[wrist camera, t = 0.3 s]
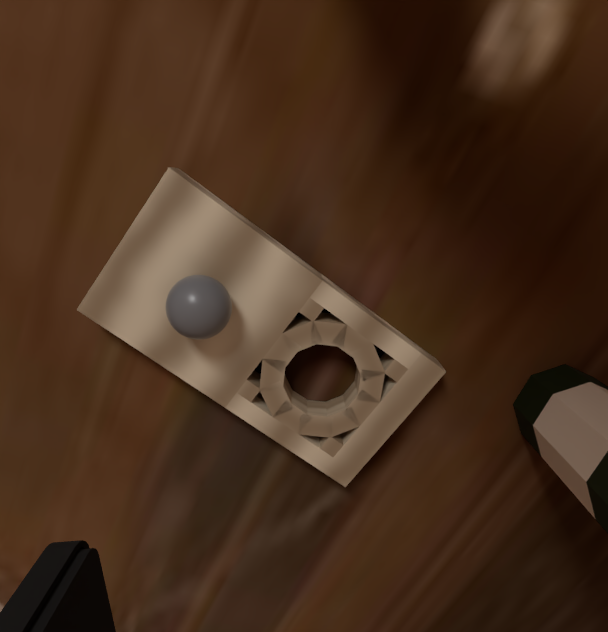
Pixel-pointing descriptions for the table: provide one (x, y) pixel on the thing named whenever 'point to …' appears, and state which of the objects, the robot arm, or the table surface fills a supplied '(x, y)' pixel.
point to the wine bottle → (570, 431)
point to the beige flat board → (258, 328)
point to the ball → (198, 307)
